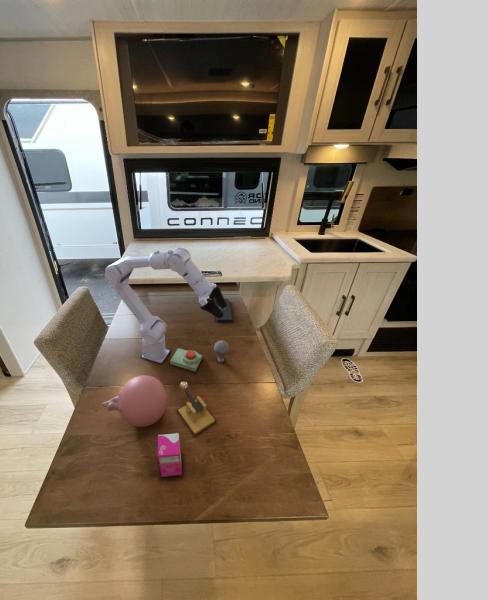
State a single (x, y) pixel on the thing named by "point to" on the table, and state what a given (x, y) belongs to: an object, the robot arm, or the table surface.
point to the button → (190, 355)
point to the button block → (185, 360)
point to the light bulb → (221, 350)
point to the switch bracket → (196, 416)
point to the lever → (190, 396)
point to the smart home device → (225, 313)
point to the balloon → (140, 401)
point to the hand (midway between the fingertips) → (223, 311)
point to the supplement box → (169, 455)
